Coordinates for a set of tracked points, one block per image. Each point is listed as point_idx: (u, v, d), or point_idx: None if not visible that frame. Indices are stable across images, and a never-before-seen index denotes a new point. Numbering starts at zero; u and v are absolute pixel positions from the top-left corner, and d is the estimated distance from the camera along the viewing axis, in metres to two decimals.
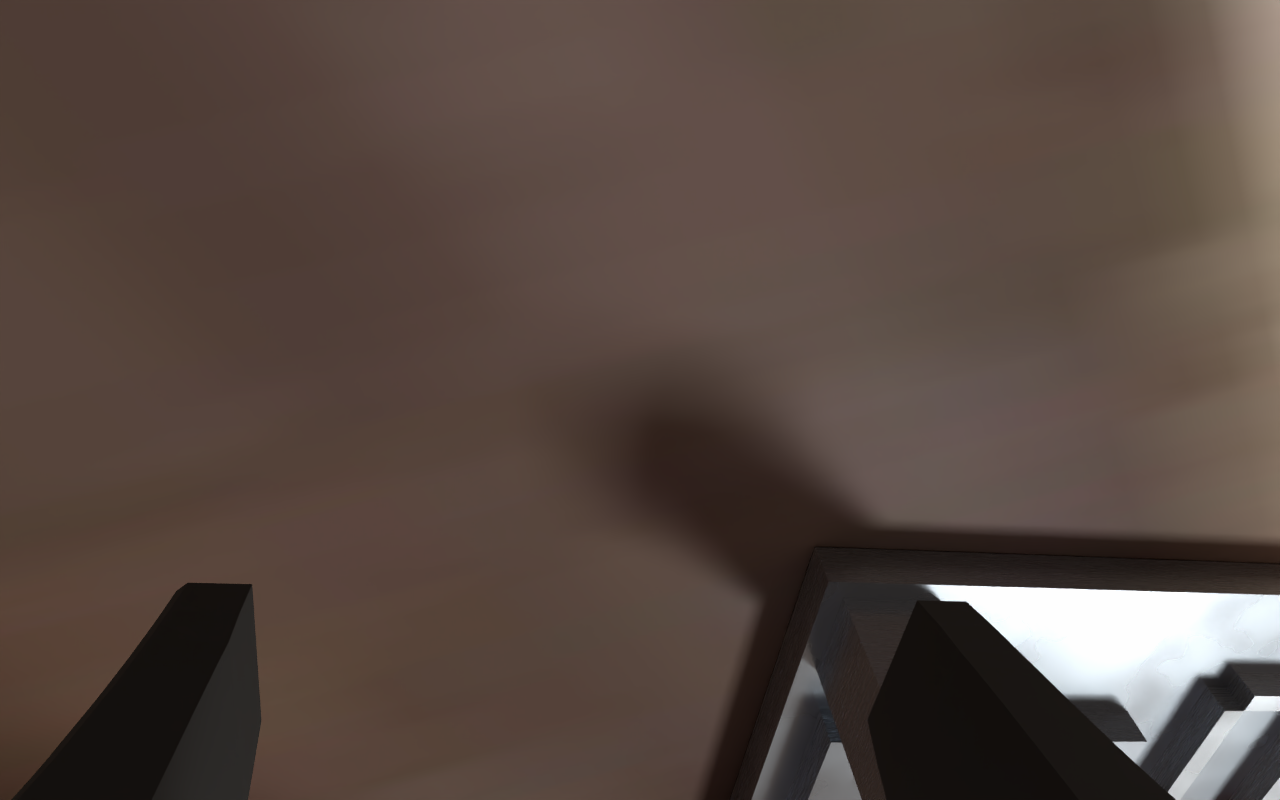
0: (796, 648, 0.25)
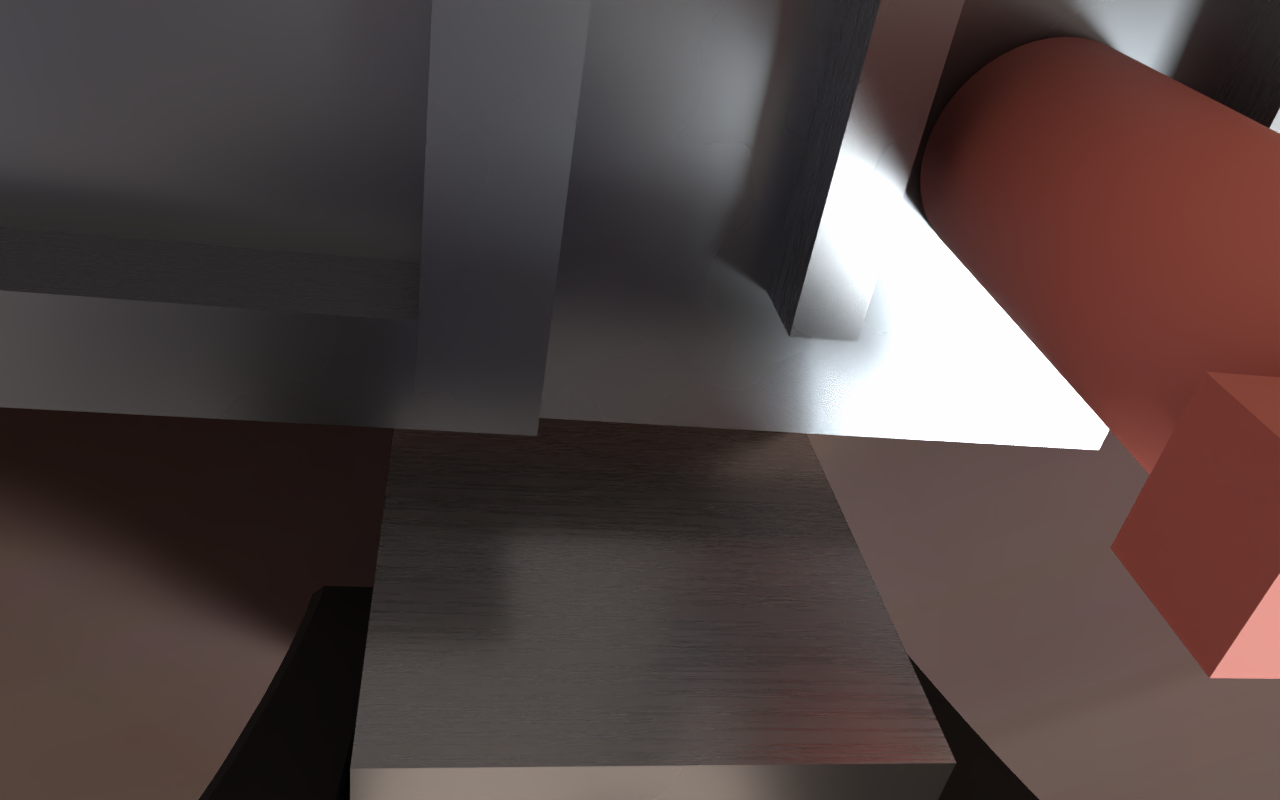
0: None
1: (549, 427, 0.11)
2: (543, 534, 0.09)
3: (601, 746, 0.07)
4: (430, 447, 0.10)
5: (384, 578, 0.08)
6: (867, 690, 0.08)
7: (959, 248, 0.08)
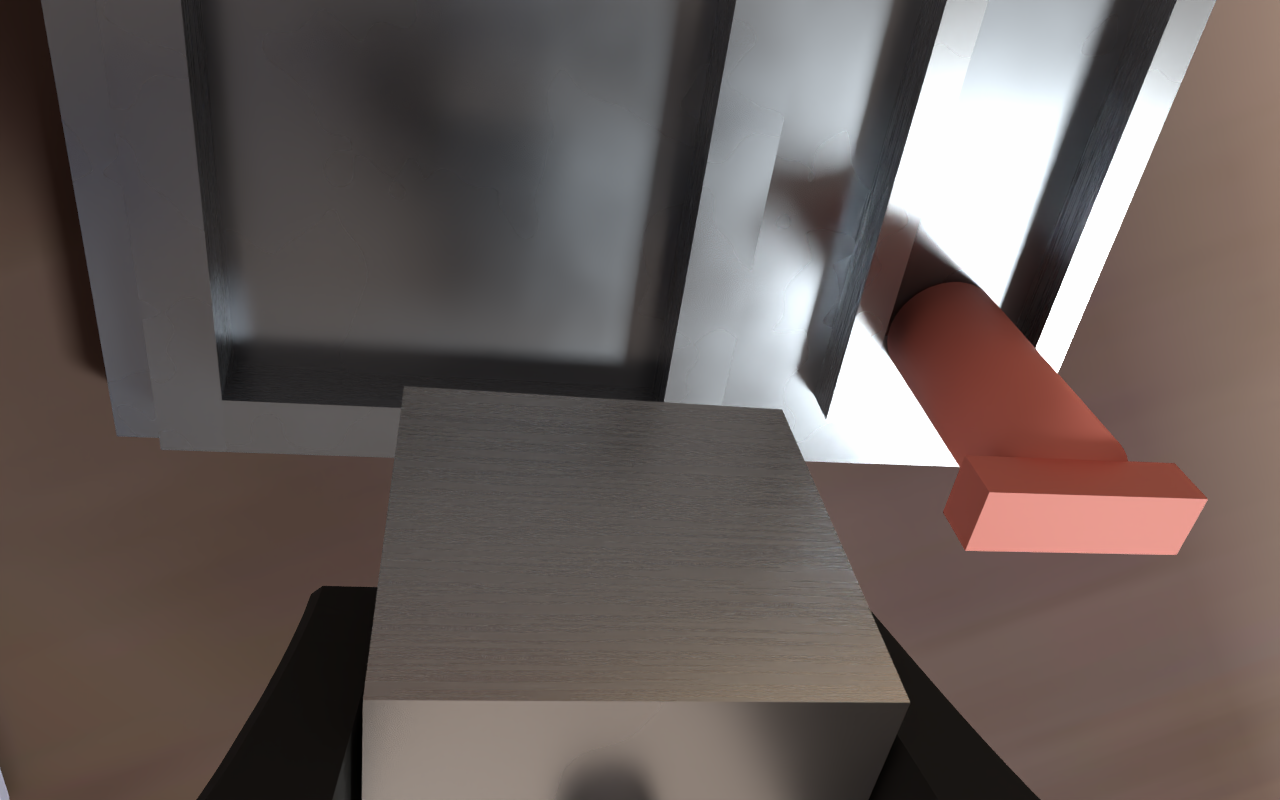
0: None
1: (544, 408, 0.11)
2: (537, 503, 0.10)
3: (588, 683, 0.08)
4: (434, 426, 0.11)
5: (392, 539, 0.09)
6: (831, 639, 0.09)
7: (904, 379, 0.17)
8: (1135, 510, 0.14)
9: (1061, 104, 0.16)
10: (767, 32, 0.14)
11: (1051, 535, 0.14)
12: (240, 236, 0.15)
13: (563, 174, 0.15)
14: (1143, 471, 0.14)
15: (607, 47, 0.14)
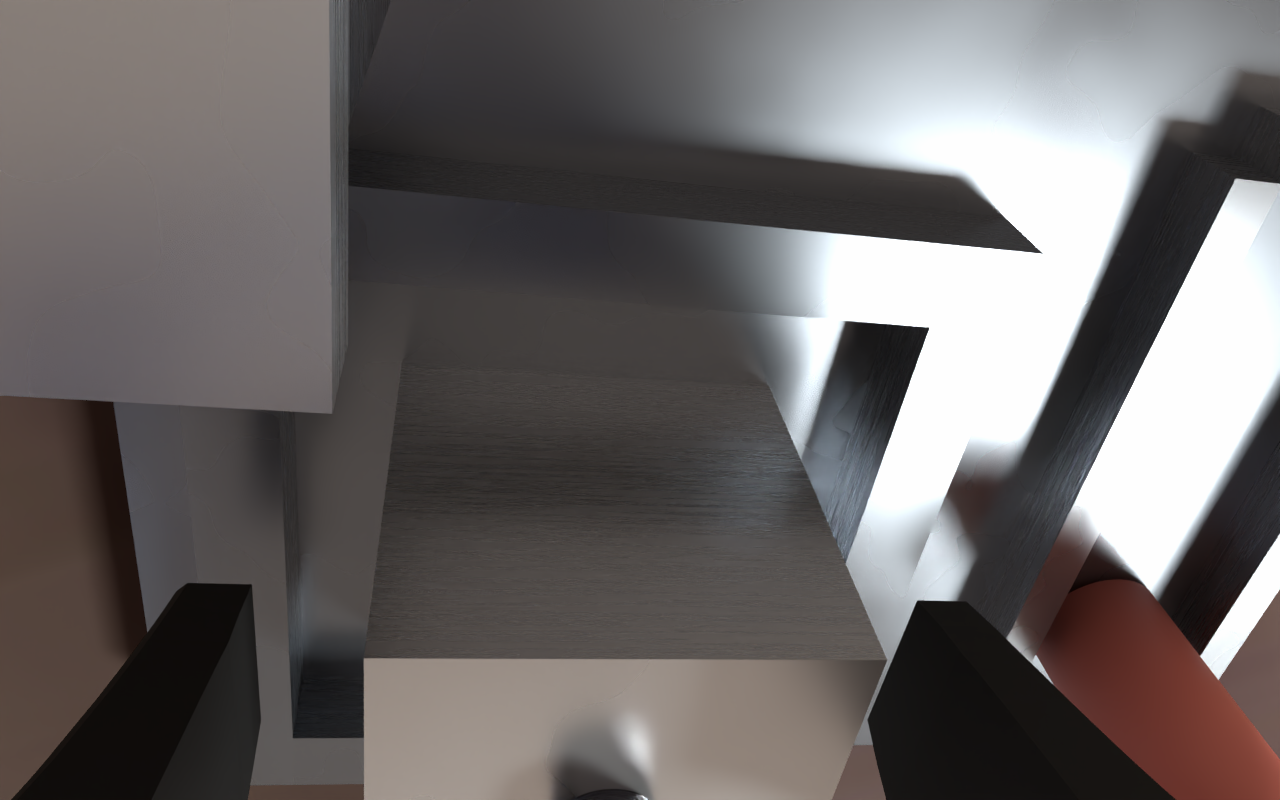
0: None
1: (538, 386, 0.12)
2: (530, 475, 0.10)
3: (578, 643, 0.09)
4: (431, 402, 0.11)
5: (391, 510, 0.10)
6: (813, 603, 0.09)
7: None
8: None
9: (1255, 409, 0.14)
10: (954, 375, 0.12)
11: None
12: (319, 559, 0.13)
13: None
14: None
15: (757, 368, 0.12)
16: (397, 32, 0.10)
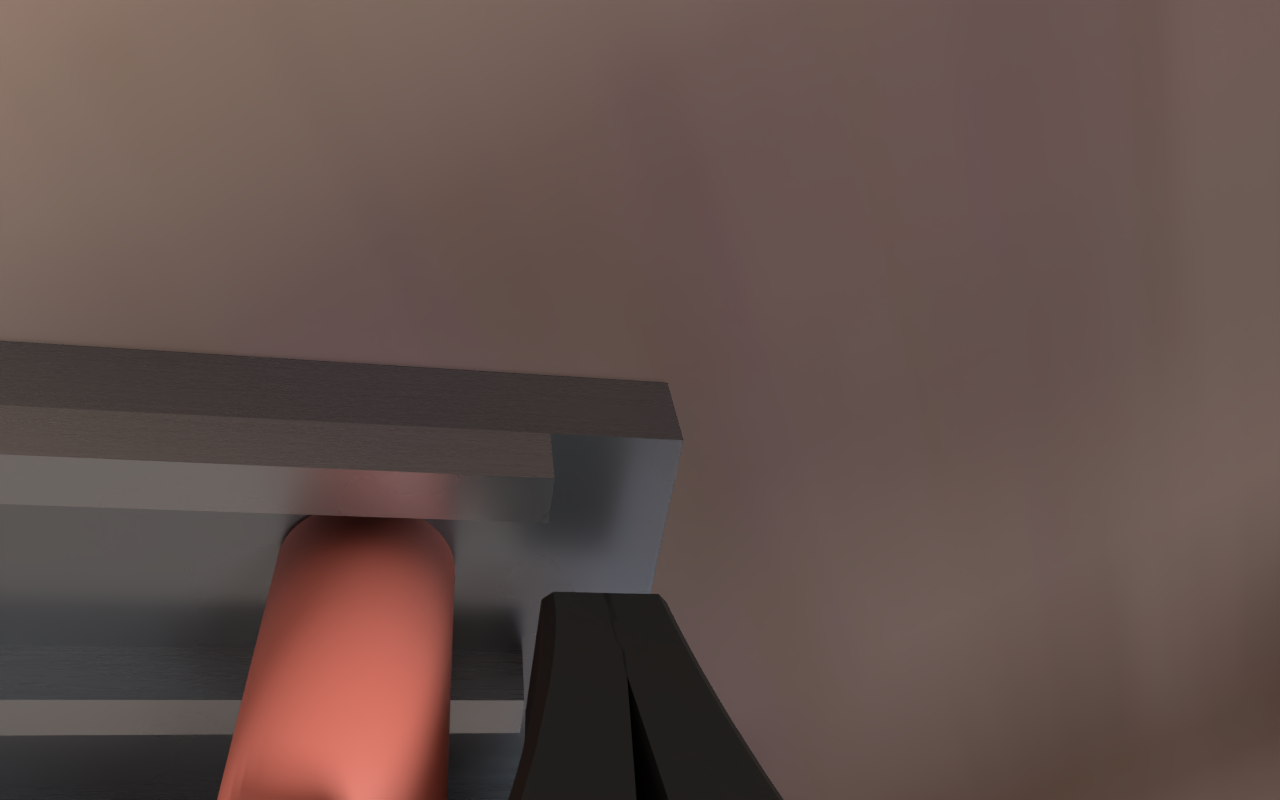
0: None
1: None
2: None
3: None
4: None
5: None
6: None
7: None
8: None
9: (7, 503, 0.11)
10: None
11: None
12: None
13: None
14: None
15: None
16: None
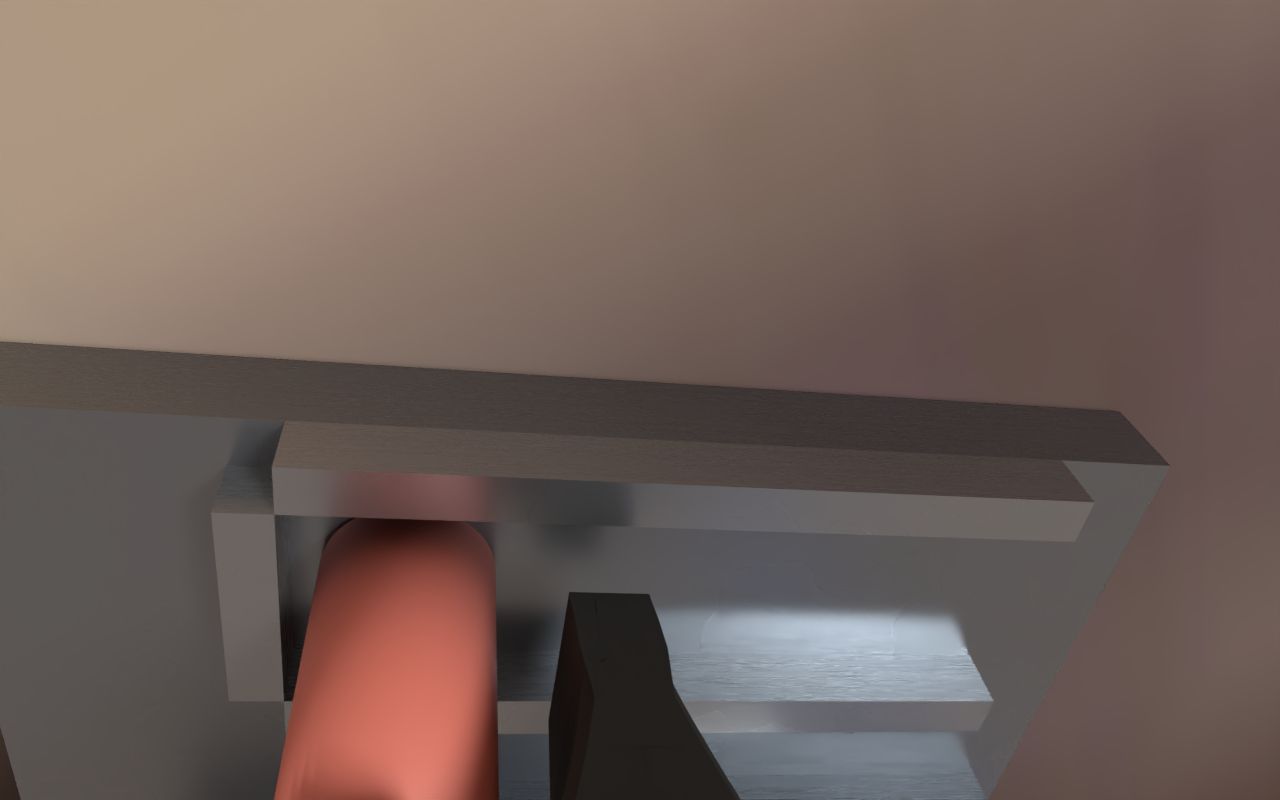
0: None
1: None
2: None
3: None
4: None
5: None
6: None
7: None
8: None
9: (590, 524, 0.12)
10: None
11: None
12: None
13: None
14: None
15: None
16: None
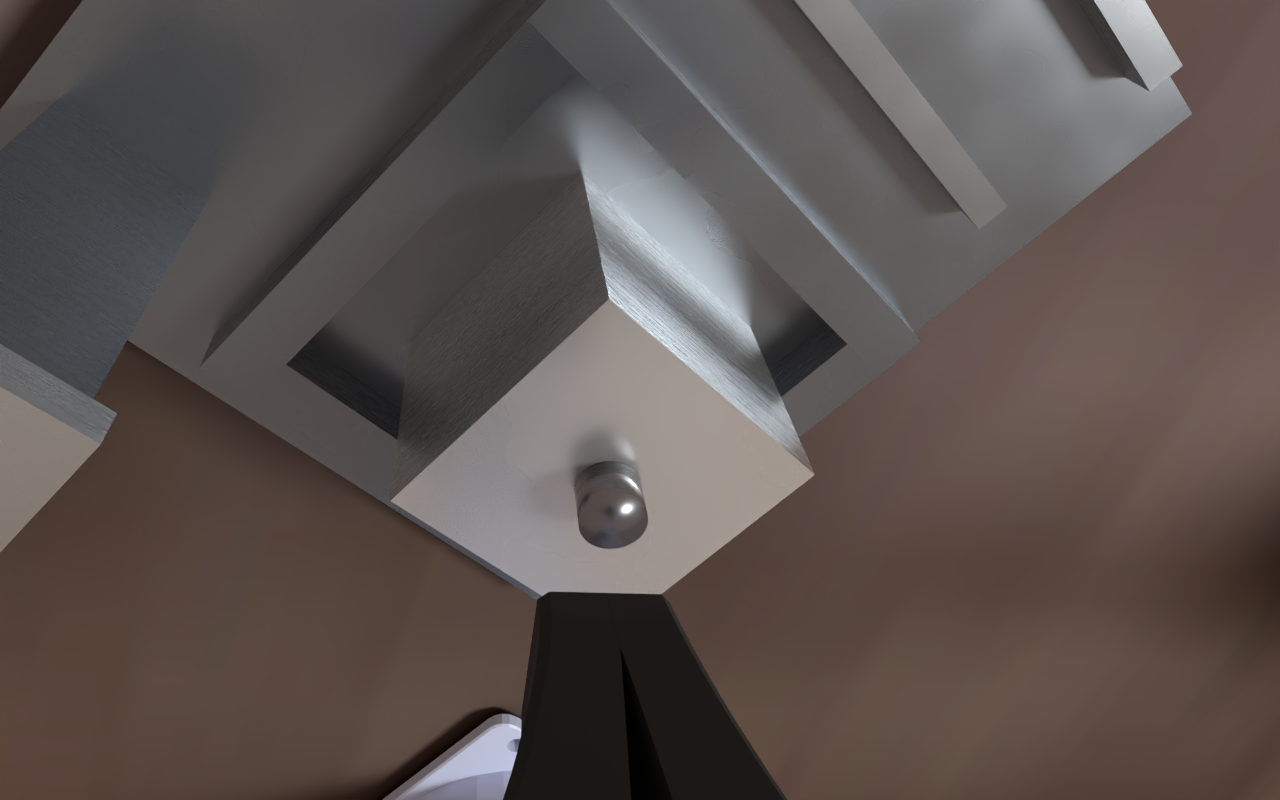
0: None
1: (466, 293, 0.18)
2: (459, 349, 0.16)
3: (470, 419, 0.14)
4: (420, 351, 0.18)
5: (401, 424, 0.16)
6: (578, 298, 0.14)
7: None
8: None
9: None
10: (628, 74, 0.15)
11: None
12: None
13: None
14: None
15: (563, 171, 0.17)
16: (222, 215, 0.17)
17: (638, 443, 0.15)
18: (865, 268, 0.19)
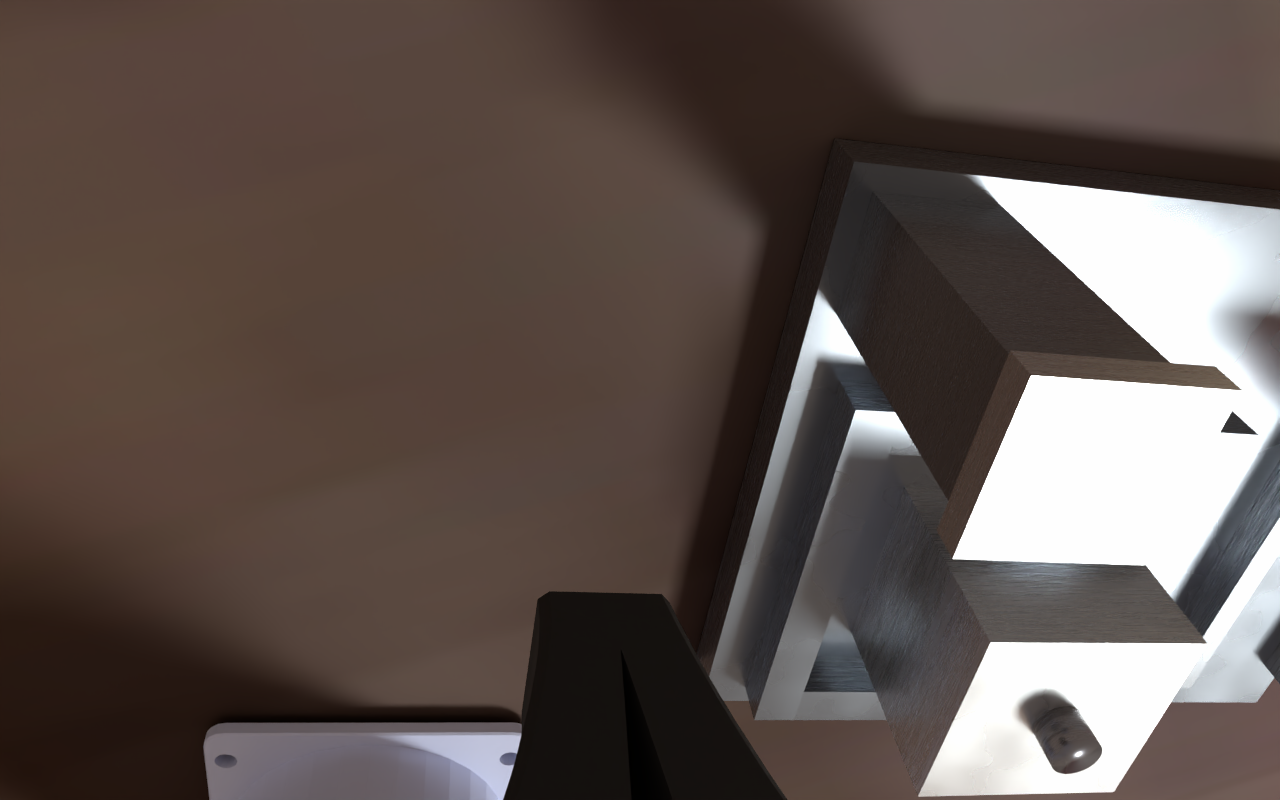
0: (810, 287, 0.19)
1: None
2: None
3: (1073, 636, 0.19)
4: (933, 510, 0.21)
5: (955, 571, 0.20)
6: (1164, 616, 0.20)
7: None
8: None
9: None
10: (1203, 493, 0.22)
11: None
12: None
13: None
14: None
15: None
16: None
17: (1101, 714, 0.20)
18: None
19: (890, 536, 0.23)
